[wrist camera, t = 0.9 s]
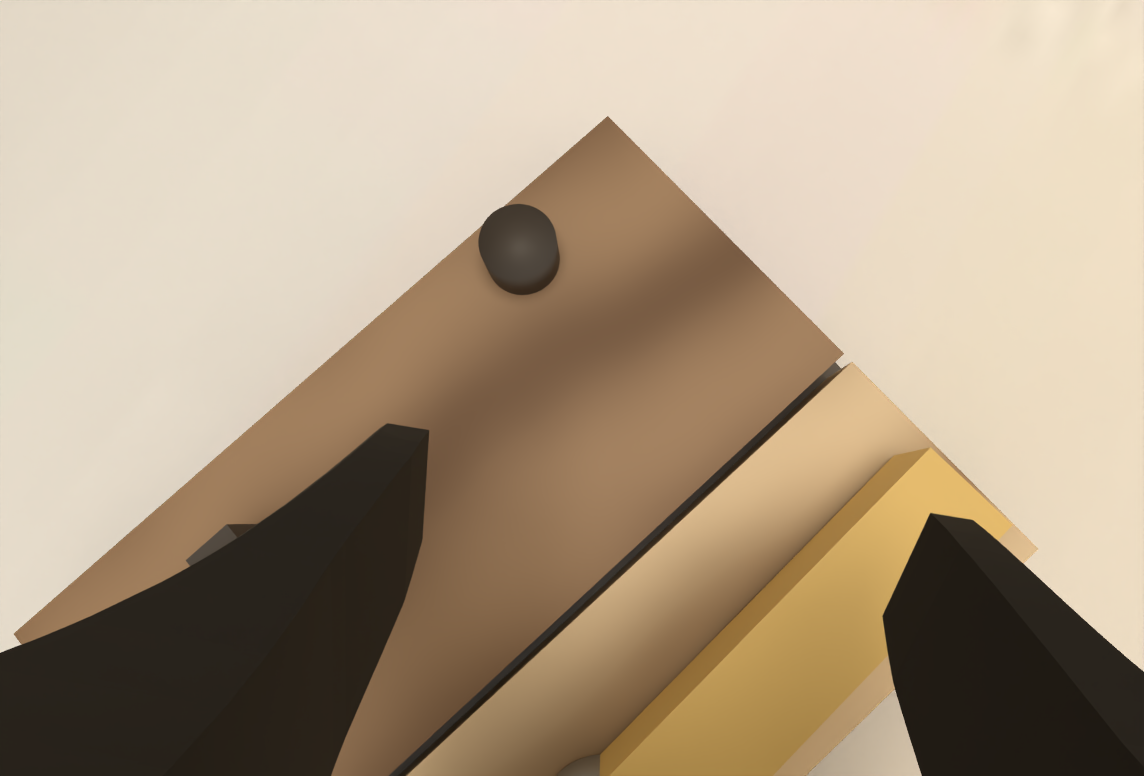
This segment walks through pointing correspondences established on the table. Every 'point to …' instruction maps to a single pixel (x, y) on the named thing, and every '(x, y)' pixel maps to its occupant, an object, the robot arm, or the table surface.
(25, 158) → the table surface
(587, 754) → the wooden board with knob
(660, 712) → the bar
